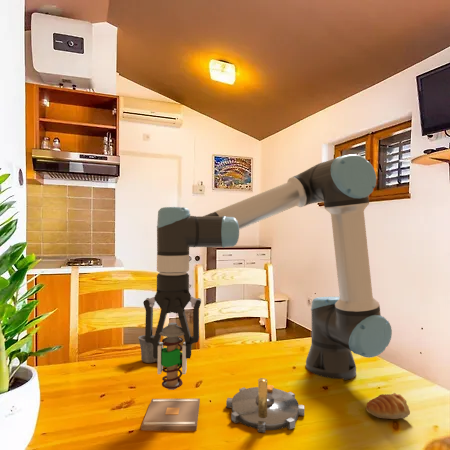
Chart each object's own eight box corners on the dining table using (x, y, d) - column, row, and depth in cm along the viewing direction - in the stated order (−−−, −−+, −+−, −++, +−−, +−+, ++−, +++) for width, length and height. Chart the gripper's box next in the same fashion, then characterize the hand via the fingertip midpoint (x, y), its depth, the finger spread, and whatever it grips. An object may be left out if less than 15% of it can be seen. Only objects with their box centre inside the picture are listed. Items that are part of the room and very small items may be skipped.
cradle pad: (199, 402, 88) (199, 398, 88) (196, 430, 76) (196, 425, 76) (152, 402, 88) (152, 398, 88) (141, 430, 76) (141, 425, 76)
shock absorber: (191, 385, 83) (191, 322, 83) (173, 396, 77) (174, 329, 77) (170, 379, 86) (171, 318, 86) (152, 389, 81) (153, 324, 81)
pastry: (377, 423, 78) (378, 407, 78) (359, 407, 85) (359, 391, 85) (412, 417, 80) (413, 401, 80) (392, 402, 87) (392, 387, 87)
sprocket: (233, 389, 95) (233, 352, 95) (303, 395, 91) (303, 357, 91) (219, 428, 77) (219, 382, 77) (305, 438, 73) (305, 390, 73)
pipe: (169, 367, 109) (169, 342, 109) (133, 363, 113) (133, 338, 113) (177, 360, 115) (177, 336, 115) (143, 356, 119) (143, 333, 119)
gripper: (211, 270, 86) (211, 365, 85) (138, 270, 85) (137, 365, 85) (210, 275, 78) (210, 378, 78) (130, 274, 78) (129, 378, 78)
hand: (172, 371), depth 82 cm, fingers closed on shock absorber, 5 cm apart
